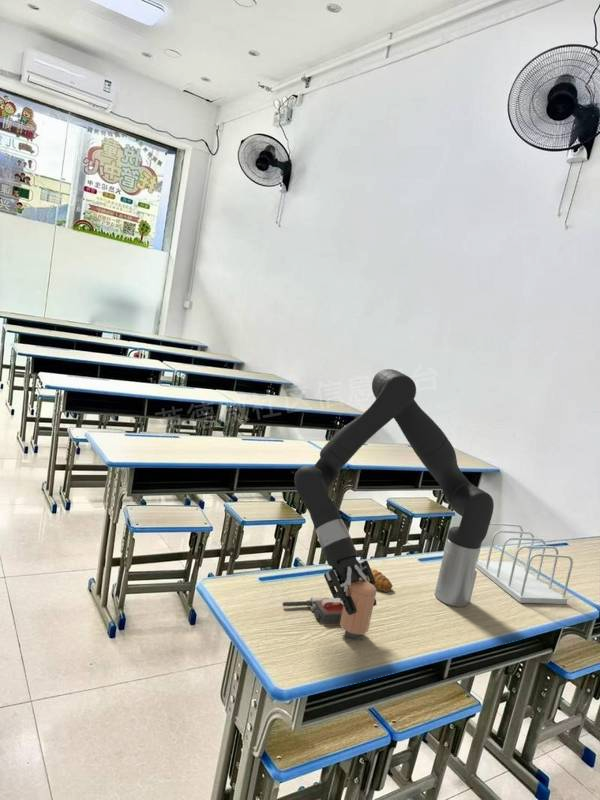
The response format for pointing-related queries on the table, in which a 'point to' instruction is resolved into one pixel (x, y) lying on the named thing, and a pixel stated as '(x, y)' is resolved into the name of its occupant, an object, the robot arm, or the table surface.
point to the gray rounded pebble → (352, 635)
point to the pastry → (380, 581)
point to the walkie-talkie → (322, 608)
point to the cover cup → (359, 607)
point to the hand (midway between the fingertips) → (363, 609)
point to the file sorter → (523, 573)
